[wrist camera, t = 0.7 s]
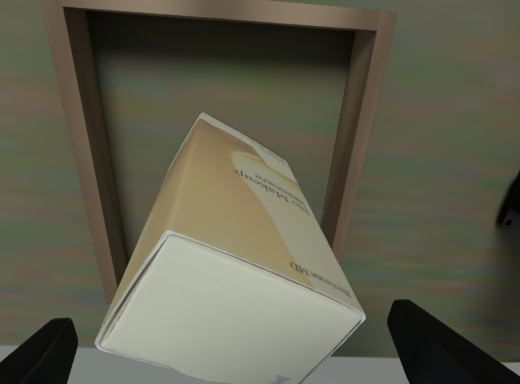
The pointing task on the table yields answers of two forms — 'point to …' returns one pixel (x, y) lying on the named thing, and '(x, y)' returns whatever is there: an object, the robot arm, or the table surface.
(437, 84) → the table surface
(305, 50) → the table surface
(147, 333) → the skincare box
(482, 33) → the table surface
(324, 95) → the table surface
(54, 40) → the brown wooden frame
